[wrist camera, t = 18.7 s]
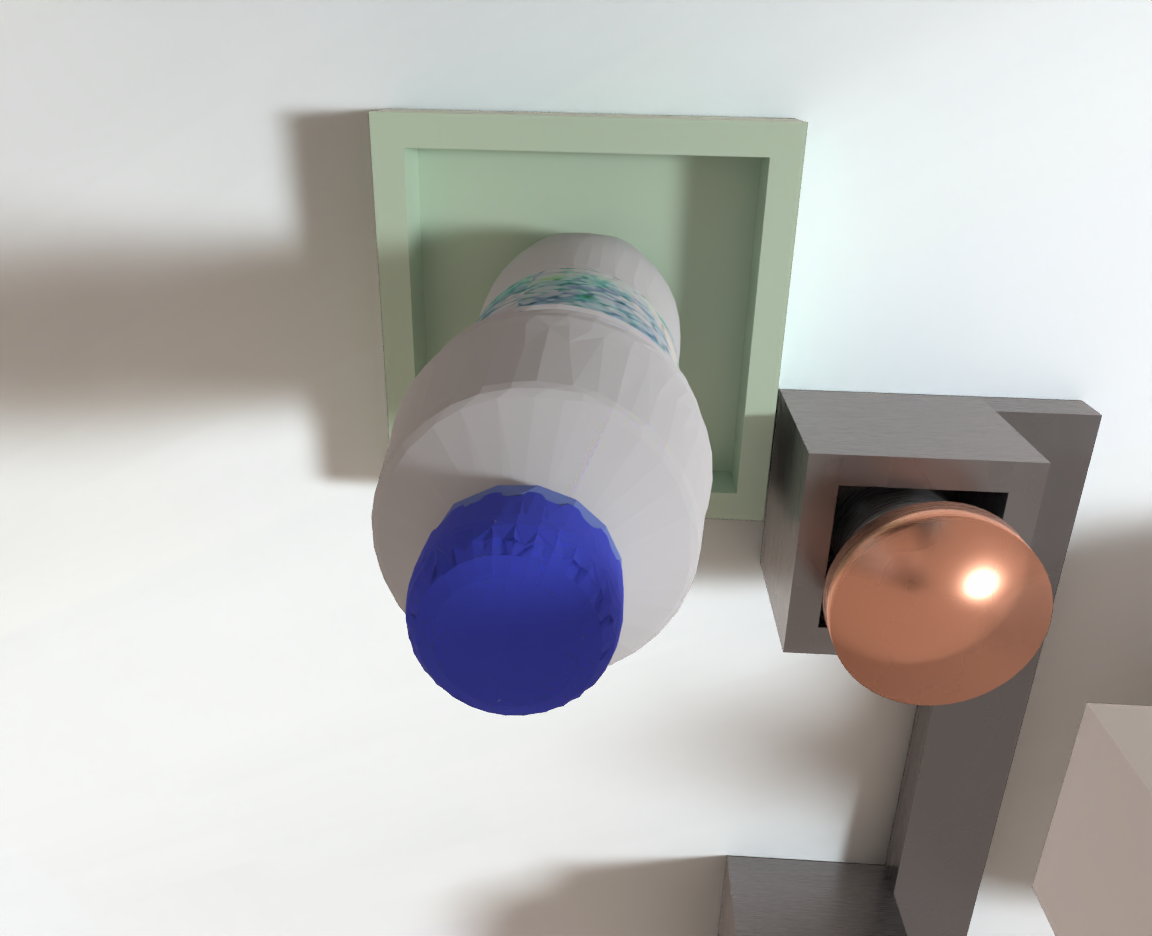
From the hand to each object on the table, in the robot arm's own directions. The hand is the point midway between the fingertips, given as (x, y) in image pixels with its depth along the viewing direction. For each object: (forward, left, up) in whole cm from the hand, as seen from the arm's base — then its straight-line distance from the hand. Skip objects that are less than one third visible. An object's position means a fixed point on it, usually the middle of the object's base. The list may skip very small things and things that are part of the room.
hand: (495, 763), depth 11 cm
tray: (0, 0, -23) cm, 23 cm away
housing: (+17, +12, -23) cm, 31 cm away
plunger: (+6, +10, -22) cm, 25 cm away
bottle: (0, 0, -23) cm, 23 cm away
